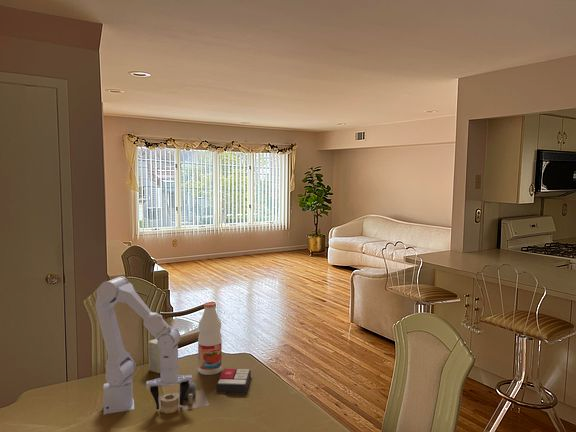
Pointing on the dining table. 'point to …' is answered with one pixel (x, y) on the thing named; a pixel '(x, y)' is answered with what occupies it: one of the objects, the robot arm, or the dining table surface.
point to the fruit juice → (209, 341)
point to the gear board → (190, 399)
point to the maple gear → (169, 403)
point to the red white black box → (234, 381)
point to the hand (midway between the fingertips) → (169, 405)
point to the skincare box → (154, 356)
